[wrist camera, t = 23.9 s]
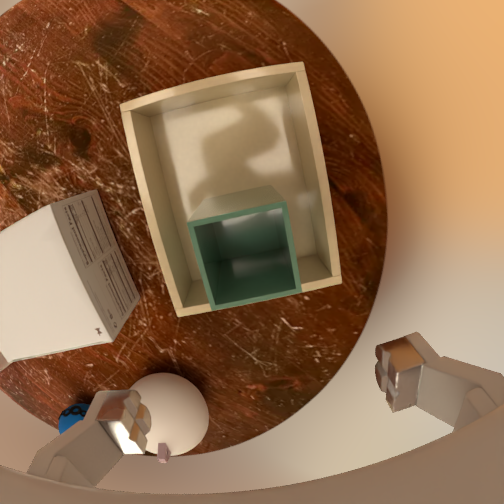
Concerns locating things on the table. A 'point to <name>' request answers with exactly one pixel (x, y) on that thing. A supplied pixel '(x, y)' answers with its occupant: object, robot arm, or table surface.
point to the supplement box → (62, 280)
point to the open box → (231, 167)
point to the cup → (3, 362)
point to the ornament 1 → (72, 416)
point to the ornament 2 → (172, 414)
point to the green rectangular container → (245, 247)
